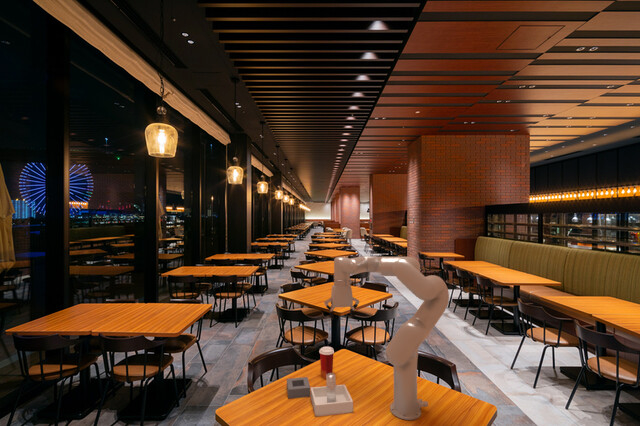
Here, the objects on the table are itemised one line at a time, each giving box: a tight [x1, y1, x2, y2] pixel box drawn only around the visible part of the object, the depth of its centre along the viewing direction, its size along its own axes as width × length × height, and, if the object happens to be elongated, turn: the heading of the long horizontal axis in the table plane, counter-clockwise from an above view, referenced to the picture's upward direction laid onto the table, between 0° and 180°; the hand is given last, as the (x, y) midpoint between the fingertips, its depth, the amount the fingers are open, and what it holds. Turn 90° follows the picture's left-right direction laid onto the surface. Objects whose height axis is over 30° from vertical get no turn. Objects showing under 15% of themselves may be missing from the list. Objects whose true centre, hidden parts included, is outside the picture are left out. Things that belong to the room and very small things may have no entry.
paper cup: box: [318, 346, 335, 380], centre depth 162 cm, size 8×8×14 cm
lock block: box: [286, 376, 311, 400], centre depth 147 cm, size 10×10×4 cm
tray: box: [310, 384, 354, 417], centre depth 137 cm, size 16×14×4 cm
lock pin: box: [325, 372, 336, 403], centre depth 137 cm, size 4×4×12 cm
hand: (341, 318), depth 151 cm, fingers open, 9 cm apart
